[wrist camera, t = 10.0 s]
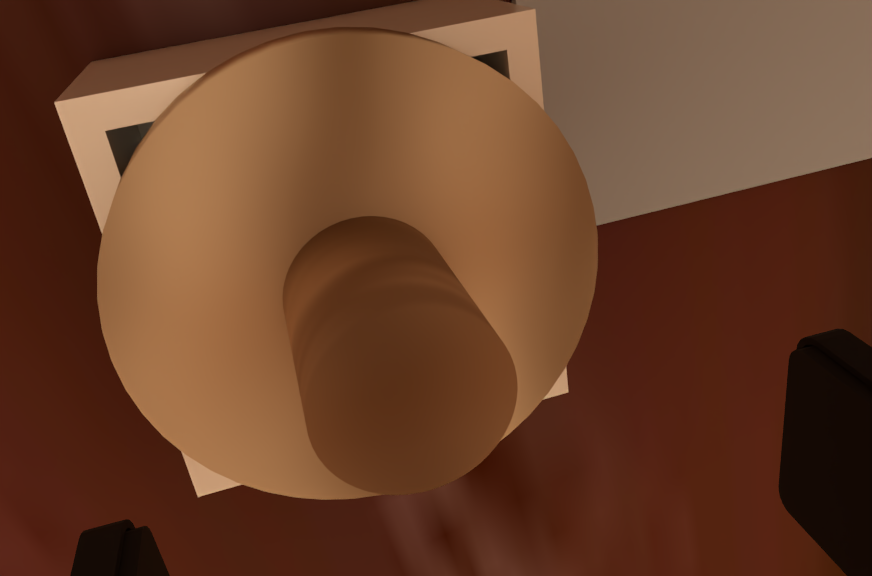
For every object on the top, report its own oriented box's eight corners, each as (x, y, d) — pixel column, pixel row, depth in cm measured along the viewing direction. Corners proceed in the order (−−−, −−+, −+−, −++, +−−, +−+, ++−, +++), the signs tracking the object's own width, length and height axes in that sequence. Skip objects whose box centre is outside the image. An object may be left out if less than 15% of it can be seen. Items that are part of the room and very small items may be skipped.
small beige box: (463, -9, 24) (535, 8, 19) (502, 307, 29) (568, 392, 24) (91, 61, 22) (54, 102, 17) (200, 386, 27) (198, 496, 22)
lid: (554, -19, 19) (708, 4, 13) (588, 399, 24) (708, 548, 18) (23, 86, 17) (-76, 168, 11) (190, 516, 22) (182, 723, 16)
